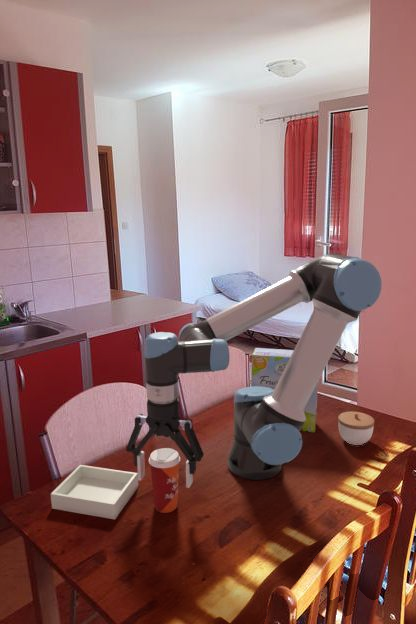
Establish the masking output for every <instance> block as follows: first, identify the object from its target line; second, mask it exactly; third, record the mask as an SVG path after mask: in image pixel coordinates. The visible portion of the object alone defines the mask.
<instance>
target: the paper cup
mask: <svg viewBox="0 0 416 624" xmlns="http://www.w3.org/2000/svg"><path fill="white" fill-rule="evenodd" d="M180 462H181V457H180V455H179V452H178V451H177V450H175V449H174V448H169V447H163V448H157V449H155V450H152V452H151V453H150V456H149V458H148V463H149V466H150V467H149V468H150V474H151V475H150V476H151V484H152V485H151V486H152V493H153V494H152V496H153V502H154V509H155V510H156V511H157V512H159V513H161V514H162V513H163V514H169V513H171V512H174V511H175V510H176V509H177V508H178V499H179V498H178V497H179V474H180V473H179V472H180V471H179V470H180V469H179V468H180Z"/></svg>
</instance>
